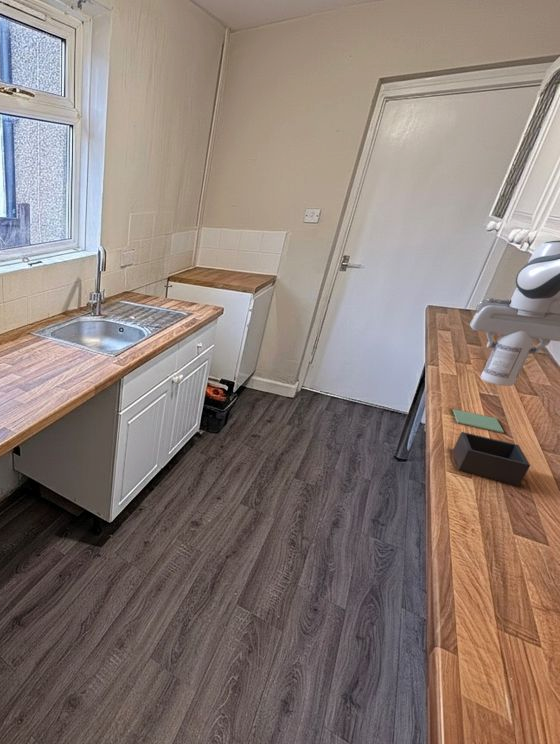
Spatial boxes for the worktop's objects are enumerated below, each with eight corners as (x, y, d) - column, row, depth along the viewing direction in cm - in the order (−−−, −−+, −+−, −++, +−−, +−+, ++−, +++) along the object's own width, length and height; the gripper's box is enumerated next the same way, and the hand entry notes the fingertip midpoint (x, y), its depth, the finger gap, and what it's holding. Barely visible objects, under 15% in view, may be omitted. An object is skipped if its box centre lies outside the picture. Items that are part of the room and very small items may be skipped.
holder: (507, 464, 105) (518, 444, 103) (518, 486, 97) (530, 465, 95) (452, 450, 111) (461, 431, 109) (458, 470, 103) (468, 450, 101)
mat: (495, 419, 127) (496, 418, 126) (503, 433, 119) (504, 432, 119) (452, 410, 132) (453, 408, 132) (457, 422, 125) (457, 421, 124)
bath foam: (497, 377, 123) (527, 312, 115) (520, 386, 117) (554, 318, 109) (473, 376, 123) (501, 311, 116) (495, 386, 117) (527, 318, 109)
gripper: (483, 299, 114) (463, 346, 120) (595, 310, 103) (567, 361, 109) (478, 295, 119) (459, 340, 124) (585, 305, 108) (559, 354, 113)
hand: (510, 350), depth 116 cm, fingers closed on bath foam, 7 cm apart
